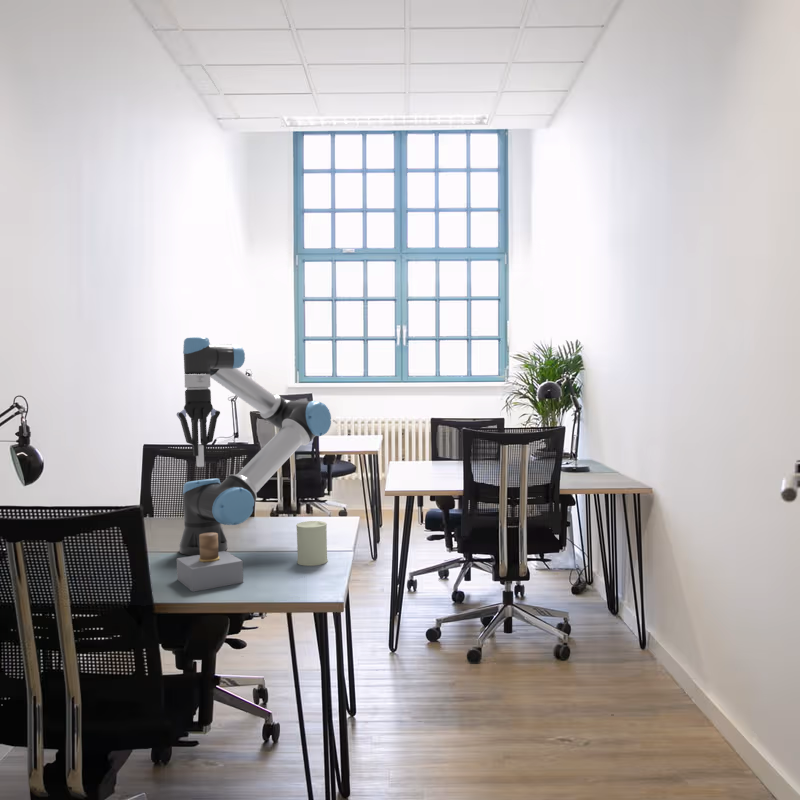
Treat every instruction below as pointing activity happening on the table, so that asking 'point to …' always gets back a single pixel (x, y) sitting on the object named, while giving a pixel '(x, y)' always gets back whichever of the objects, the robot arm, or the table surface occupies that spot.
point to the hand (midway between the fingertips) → (200, 466)
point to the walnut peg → (208, 547)
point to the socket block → (209, 571)
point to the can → (312, 543)
